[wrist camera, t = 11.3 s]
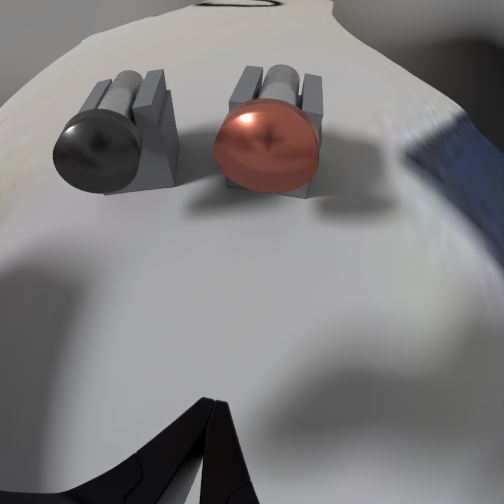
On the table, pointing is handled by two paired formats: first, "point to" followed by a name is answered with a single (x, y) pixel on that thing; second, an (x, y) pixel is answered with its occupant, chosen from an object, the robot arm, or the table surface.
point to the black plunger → (102, 141)
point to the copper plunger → (269, 138)
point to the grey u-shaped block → (149, 131)
